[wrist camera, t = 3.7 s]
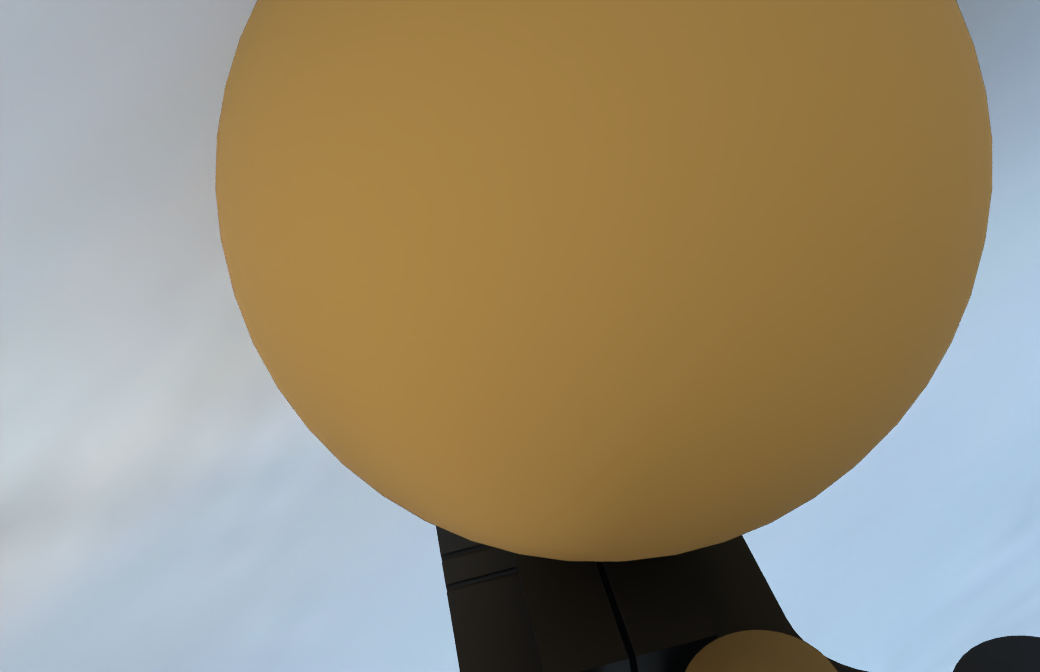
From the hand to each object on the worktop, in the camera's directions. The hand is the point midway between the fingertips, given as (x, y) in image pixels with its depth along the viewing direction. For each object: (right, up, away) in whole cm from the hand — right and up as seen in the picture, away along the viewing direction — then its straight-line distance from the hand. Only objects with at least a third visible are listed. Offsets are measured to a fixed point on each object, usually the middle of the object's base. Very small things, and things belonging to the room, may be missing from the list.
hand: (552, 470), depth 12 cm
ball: (0, +3, -3) cm, 4 cm away
